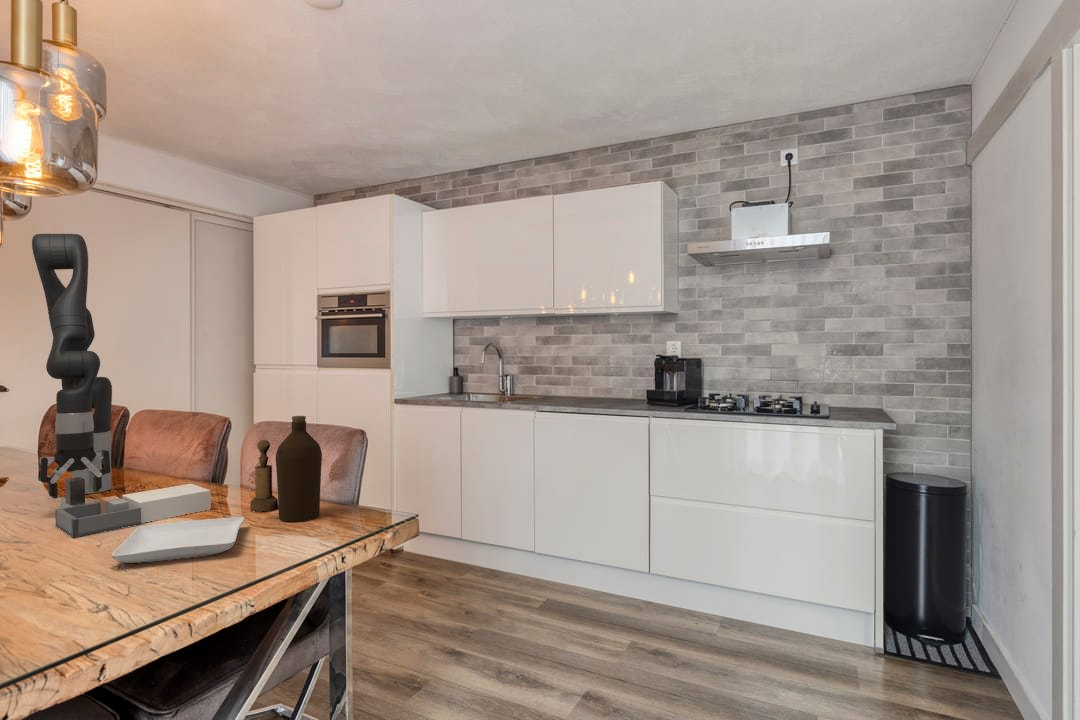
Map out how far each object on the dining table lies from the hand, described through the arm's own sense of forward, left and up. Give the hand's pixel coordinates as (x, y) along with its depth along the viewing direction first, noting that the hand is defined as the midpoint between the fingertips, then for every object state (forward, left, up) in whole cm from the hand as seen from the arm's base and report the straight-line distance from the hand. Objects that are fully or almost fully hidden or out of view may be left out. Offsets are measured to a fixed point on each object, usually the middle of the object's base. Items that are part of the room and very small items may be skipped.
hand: (75, 494), depth 150 cm
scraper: (0, 0, -5) cm, 5 cm away
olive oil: (+46, +34, -5) cm, 57 cm away
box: (+16, 0, -5) cm, 17 cm away
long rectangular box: (+16, +15, -5) cm, 22 cm away
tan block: (+13, +5, -2) cm, 14 cm away
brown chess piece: (+32, +32, -5) cm, 46 cm away
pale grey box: (+18, +5, -2) cm, 19 cm away
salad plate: (+48, +7, -5) cm, 49 cm away
